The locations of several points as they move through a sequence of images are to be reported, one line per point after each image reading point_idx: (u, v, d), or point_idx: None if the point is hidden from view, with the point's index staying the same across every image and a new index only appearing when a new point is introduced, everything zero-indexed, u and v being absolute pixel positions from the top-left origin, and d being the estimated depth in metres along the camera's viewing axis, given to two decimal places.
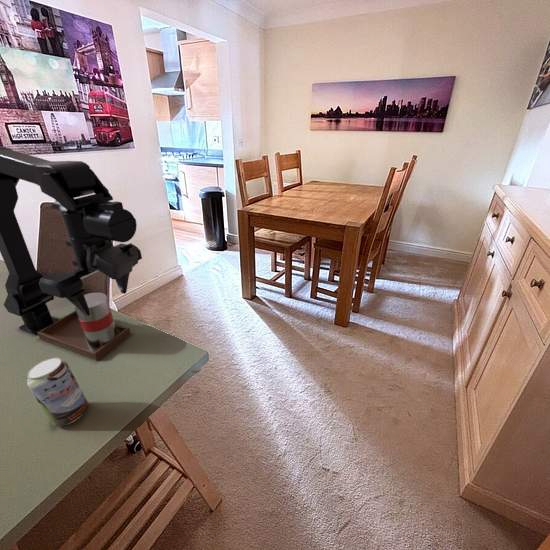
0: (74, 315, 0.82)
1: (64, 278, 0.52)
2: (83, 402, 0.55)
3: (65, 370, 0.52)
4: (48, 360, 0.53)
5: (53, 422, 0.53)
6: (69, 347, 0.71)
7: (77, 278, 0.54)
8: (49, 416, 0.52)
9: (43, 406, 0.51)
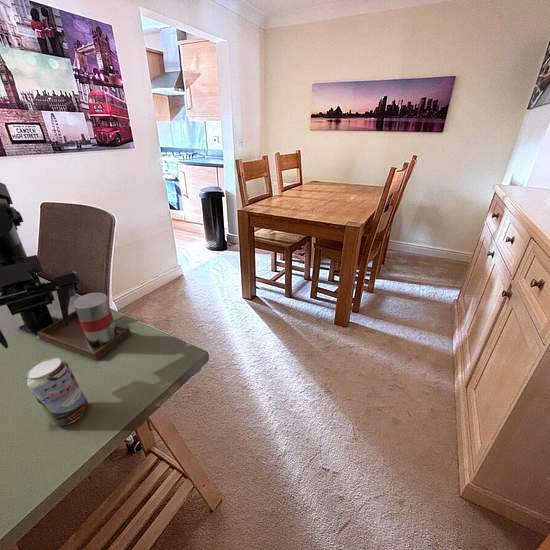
0: (74, 315, 0.82)
1: None
2: (83, 402, 0.55)
3: (65, 370, 0.52)
4: (48, 360, 0.53)
5: (53, 422, 0.53)
6: (69, 347, 0.71)
7: None
8: (49, 416, 0.52)
9: (43, 406, 0.51)
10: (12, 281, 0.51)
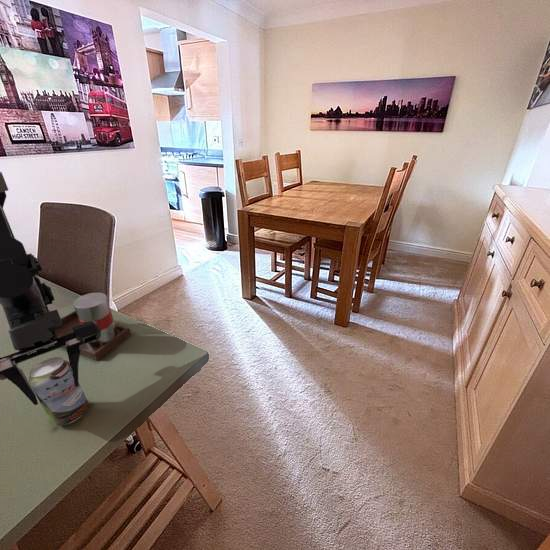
0: (74, 315, 0.82)
1: None
2: (84, 401, 0.55)
3: (67, 369, 0.52)
4: (50, 359, 0.53)
5: (54, 421, 0.53)
6: None
7: None
8: (50, 415, 0.52)
9: (44, 405, 0.51)
10: (32, 341, 0.47)
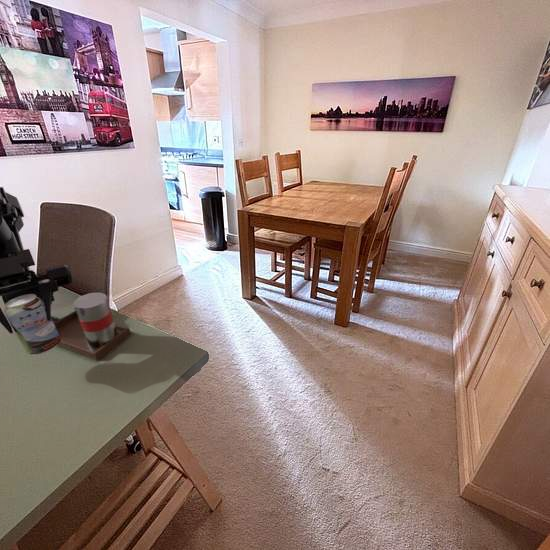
0: (74, 315, 0.82)
1: None
2: (56, 335, 0.62)
3: (40, 303, 0.59)
4: (24, 296, 0.59)
5: (28, 351, 0.59)
6: (69, 347, 0.71)
7: None
8: (24, 344, 0.59)
9: (19, 334, 0.58)
10: (5, 273, 0.53)
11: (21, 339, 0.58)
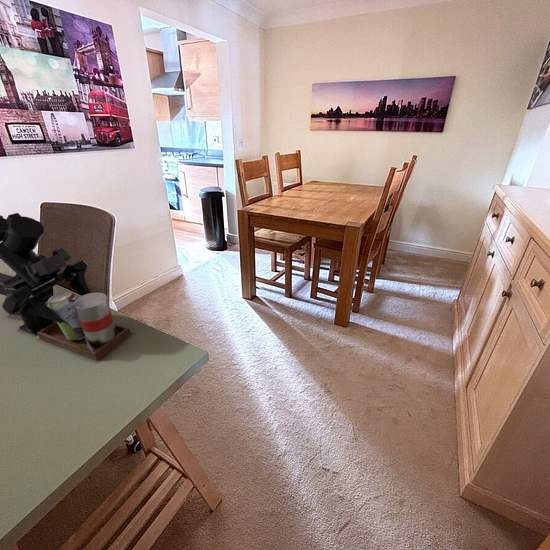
0: None
1: (14, 291, 0.63)
2: None
3: (76, 296, 0.72)
4: (58, 294, 0.71)
5: (73, 337, 0.72)
6: (69, 347, 0.71)
7: (24, 287, 0.64)
8: (70, 332, 0.71)
9: (66, 324, 0.70)
10: (58, 267, 0.67)
11: (67, 328, 0.71)
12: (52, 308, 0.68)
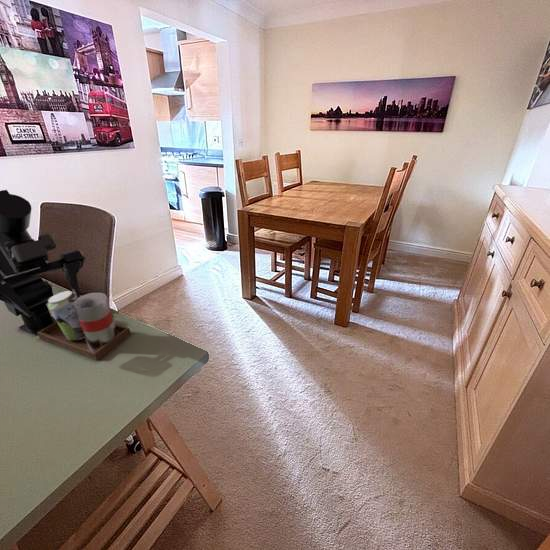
0: None
1: None
2: None
3: (76, 296, 0.72)
4: (58, 294, 0.71)
5: (73, 337, 0.72)
6: (69, 347, 0.71)
7: None
8: (70, 332, 0.71)
9: (66, 324, 0.70)
10: (34, 255, 0.58)
11: (67, 328, 0.71)
12: (52, 308, 0.68)
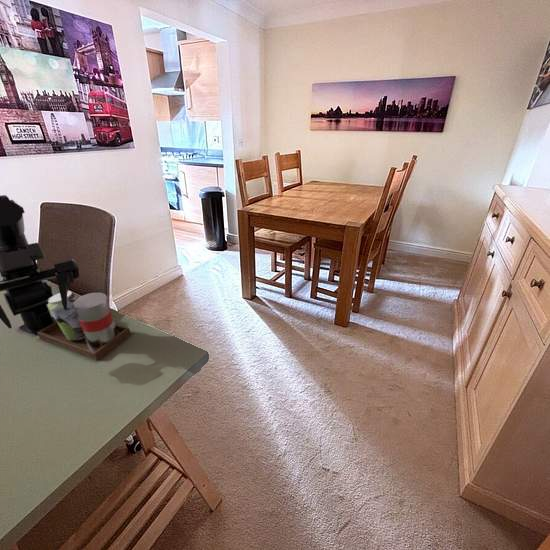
0: None
1: None
2: None
3: (76, 296, 0.72)
4: (58, 294, 0.71)
5: (73, 337, 0.72)
6: (69, 347, 0.71)
7: None
8: (70, 332, 0.71)
9: (66, 324, 0.70)
10: (15, 266, 0.55)
11: (67, 328, 0.71)
12: (52, 308, 0.68)
